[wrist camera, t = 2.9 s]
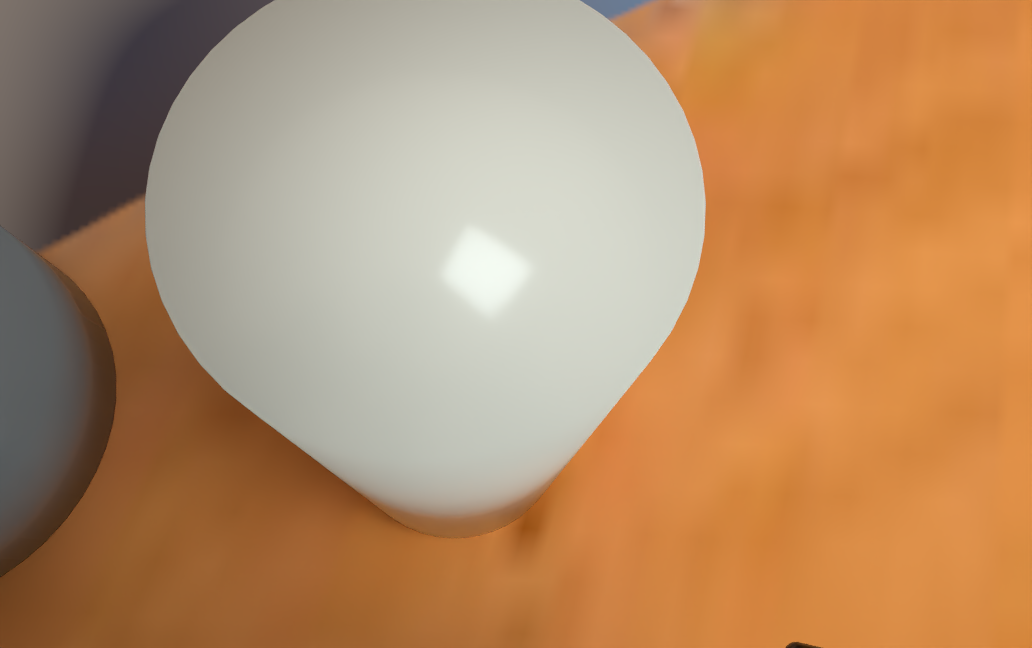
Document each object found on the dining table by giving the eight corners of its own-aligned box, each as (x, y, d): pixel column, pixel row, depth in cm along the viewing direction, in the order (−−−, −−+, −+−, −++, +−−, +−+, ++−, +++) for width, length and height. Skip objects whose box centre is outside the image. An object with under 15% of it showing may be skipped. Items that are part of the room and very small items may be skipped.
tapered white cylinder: (578, 345, 20) (730, 9, 8) (545, 557, 19) (671, 516, 7) (376, 308, 20) (236, -81, 8) (325, 516, 19) (61, 401, 7)
